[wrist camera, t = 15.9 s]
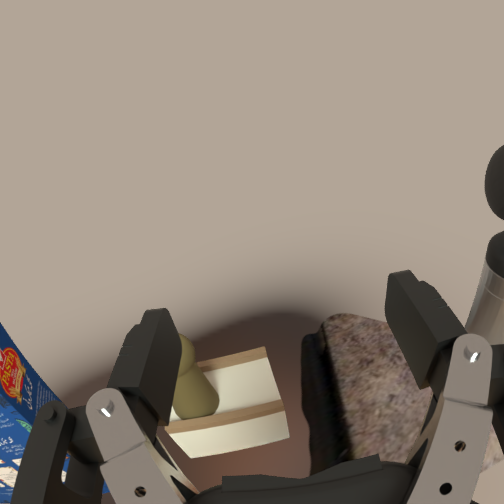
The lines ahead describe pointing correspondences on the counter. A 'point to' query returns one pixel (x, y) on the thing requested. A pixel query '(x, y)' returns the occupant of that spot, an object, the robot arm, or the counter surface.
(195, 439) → the display stand
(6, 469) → the pasta box
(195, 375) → the olive green pawn
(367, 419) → the counter surface
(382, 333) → the counter surface
